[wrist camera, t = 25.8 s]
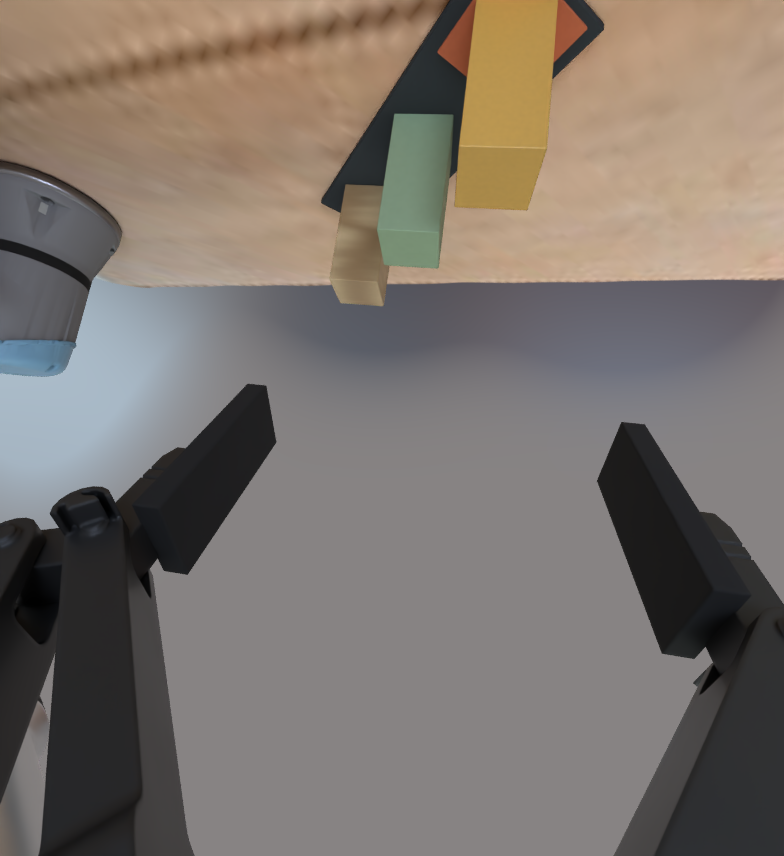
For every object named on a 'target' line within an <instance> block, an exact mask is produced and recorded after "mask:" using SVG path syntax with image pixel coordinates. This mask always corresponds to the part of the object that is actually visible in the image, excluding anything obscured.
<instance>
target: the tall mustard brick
mask: <svg viewBox="0 0 784 856" xmlns="http://www.w3.org/2000/svg"><path fill="white" fill-rule="evenodd" d="M557 7H558V0H476V6H475V14H474V23H473V31H472V39H471V48H470V56H469V65H468V73H467V82H466V90H465V99H464V107H463V116H462V124H461V132H460V141H459V151H458V165H457V179H456V193H455V207H464V208H487V209H510V210H527V209H528V206H529V203H530V200H531V197H532V193H533V190H534V187H535V184H536V181H537V178H538V175H539V172H540V168H541V165H542V162H543V159H544V156H545V153H546V150H547V141H548V128H549V114H550V101H551V88H552V74H553V61H554V47H555V34H556V21H557Z"/></svg>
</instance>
